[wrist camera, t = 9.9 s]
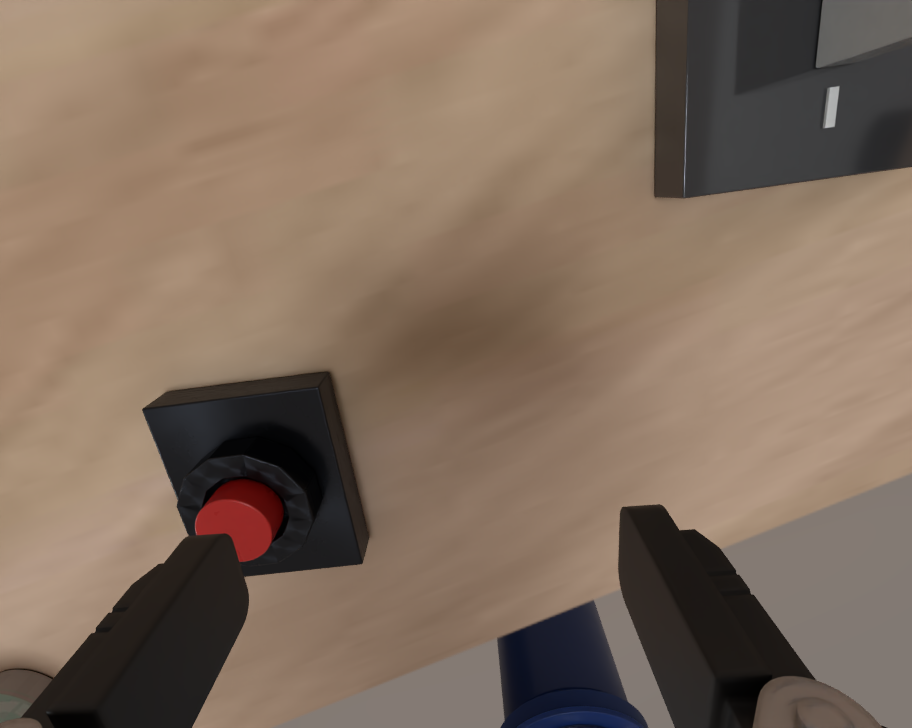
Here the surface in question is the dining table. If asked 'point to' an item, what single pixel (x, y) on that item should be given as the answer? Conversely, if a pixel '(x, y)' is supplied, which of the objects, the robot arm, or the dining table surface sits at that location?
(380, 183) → the dining table surface
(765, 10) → the dark grey base plate
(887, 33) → the knob
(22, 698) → the coffee cup
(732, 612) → the robot arm
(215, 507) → the power button
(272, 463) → the push button base
